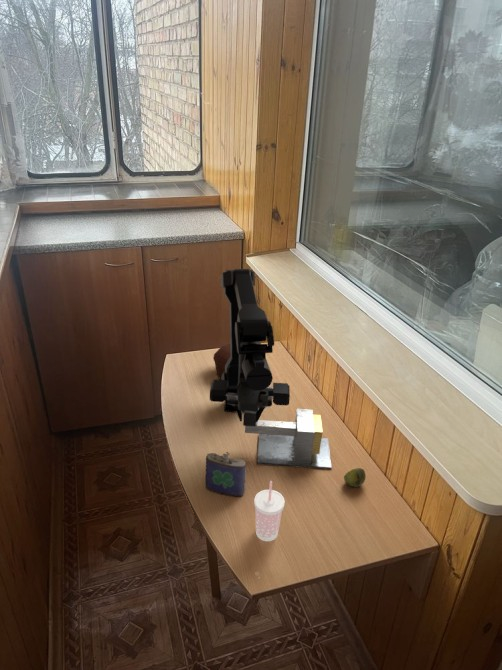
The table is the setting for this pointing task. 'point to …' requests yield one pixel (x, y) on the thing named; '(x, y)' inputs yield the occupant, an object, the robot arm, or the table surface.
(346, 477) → the lime
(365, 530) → the table surface
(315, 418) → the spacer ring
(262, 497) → the beverage cup
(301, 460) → the block
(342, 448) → the table surface
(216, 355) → the muffin
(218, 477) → the flask
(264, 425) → the shaft
